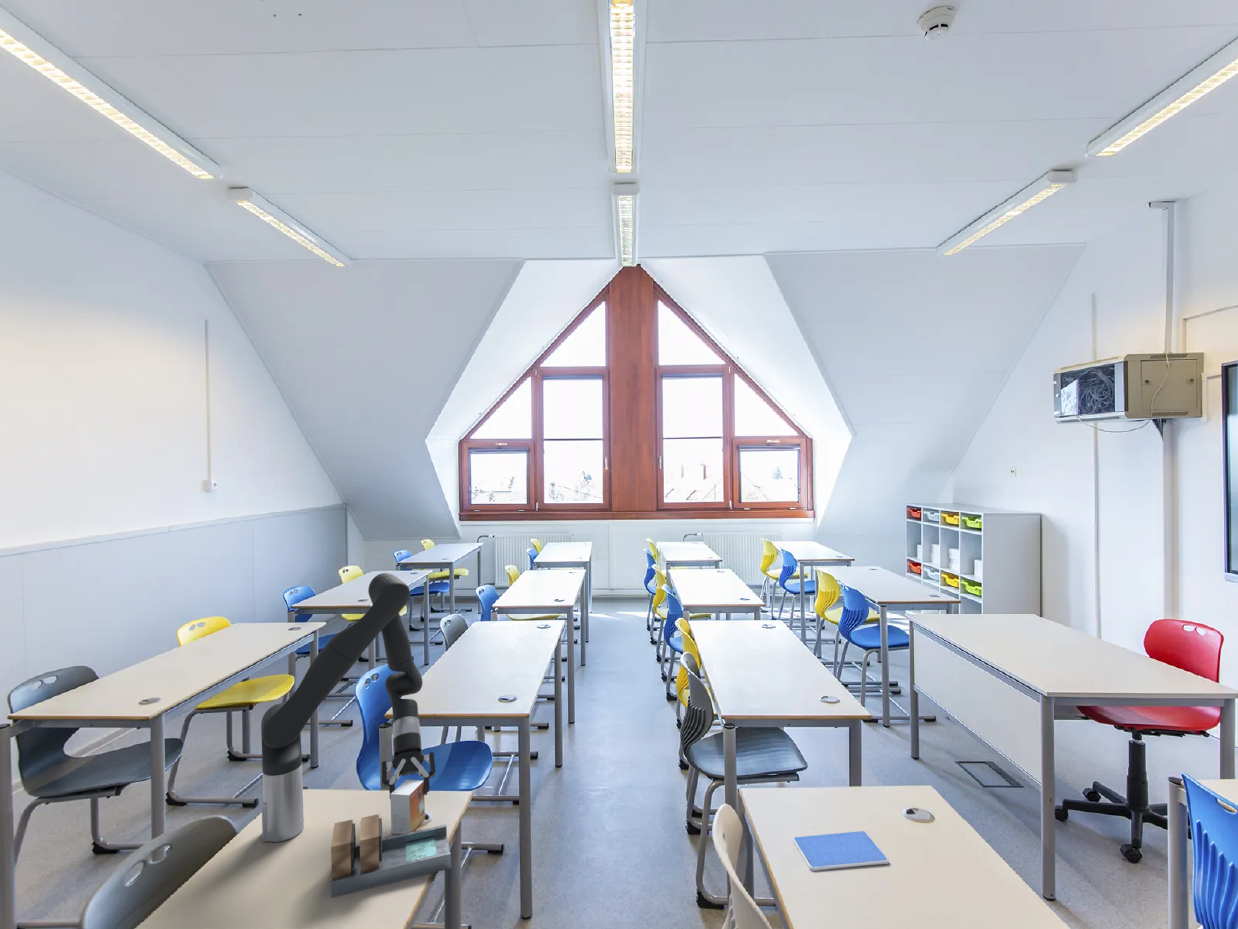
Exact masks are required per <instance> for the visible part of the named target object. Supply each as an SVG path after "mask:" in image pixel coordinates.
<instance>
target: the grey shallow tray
mask: <svg viewBox="0 0 1238 929" xmlns="http://www.w3.org/2000/svg"><path fill="white" fill-rule="evenodd" d="M447 830H448V829H447V824H443V825H438V826H434V827H428V828H425V829H424V828H423V829H420V830H419V829H418V830H414V831H413V832H410V833H405V834H395V835H391V836H388V837H387V836H386V837H382V861H381V862H380V868H377V869H373V870H368V871H364V872H361V870H360V842H359V843H356V851H355V863H354V868H353V869H352V874H351V875H347V876H343V877H338V878H334V879H332V878H331V898H334V897H339V896H343V895H348V894H351V893H355V892H359V891H363V890H368V889H372V888H376V887H380V886H384V885H388V884H389V885H390V884H393V883H397V882H401V881H405V880H408V879H414V878H418V877H423V876H426V875H429V874H430V875H431V874H433V873H438V872H441V871H446V870H450V869H452V853H451V851H450V847H449V840H448V833H447V832H448V831H447ZM437 871H438V872H437Z"/></svg>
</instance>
